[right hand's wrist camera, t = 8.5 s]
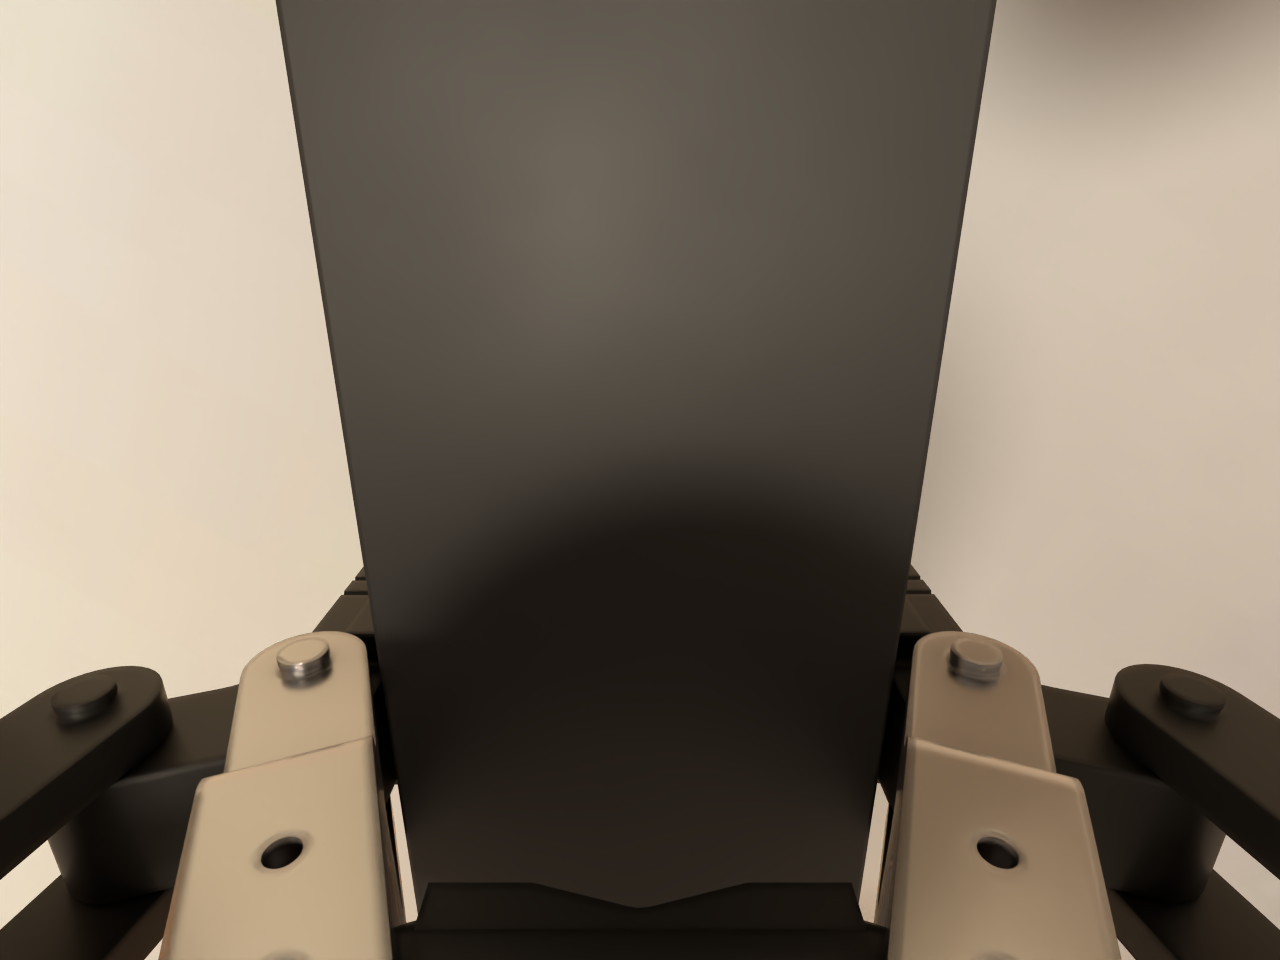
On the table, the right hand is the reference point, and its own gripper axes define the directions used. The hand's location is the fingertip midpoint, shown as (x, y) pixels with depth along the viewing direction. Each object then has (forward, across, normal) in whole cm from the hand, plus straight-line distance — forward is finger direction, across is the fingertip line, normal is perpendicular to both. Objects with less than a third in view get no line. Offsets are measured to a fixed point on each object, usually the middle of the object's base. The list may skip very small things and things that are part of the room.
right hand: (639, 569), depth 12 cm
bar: (+4, 0, +10) cm, 11 cm away
